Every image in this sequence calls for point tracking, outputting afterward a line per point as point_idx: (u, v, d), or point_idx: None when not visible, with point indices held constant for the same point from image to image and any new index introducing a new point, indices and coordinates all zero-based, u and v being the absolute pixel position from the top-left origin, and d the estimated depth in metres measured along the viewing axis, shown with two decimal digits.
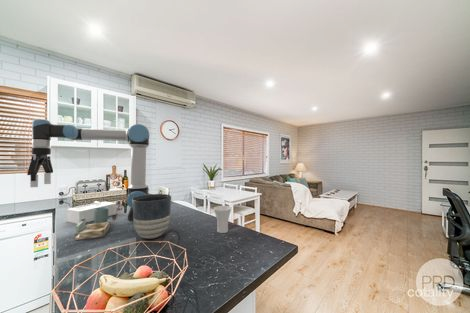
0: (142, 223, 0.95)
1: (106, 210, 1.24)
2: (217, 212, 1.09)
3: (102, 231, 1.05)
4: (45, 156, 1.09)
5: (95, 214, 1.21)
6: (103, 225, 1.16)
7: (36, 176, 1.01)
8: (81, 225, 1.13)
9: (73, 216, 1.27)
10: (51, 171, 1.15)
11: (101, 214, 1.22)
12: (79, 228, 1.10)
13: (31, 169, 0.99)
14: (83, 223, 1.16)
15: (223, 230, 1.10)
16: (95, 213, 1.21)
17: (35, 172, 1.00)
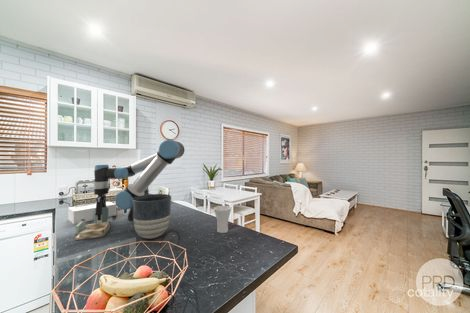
0: (142, 223, 0.95)
1: (106, 210, 1.24)
2: (217, 212, 1.09)
3: (102, 231, 1.05)
4: (104, 194, 1.27)
5: None
6: (103, 225, 1.16)
7: (101, 216, 1.21)
8: (81, 225, 1.13)
9: (71, 215, 1.29)
10: None
11: None
12: (79, 228, 1.10)
13: (98, 211, 1.18)
14: (83, 223, 1.16)
15: (223, 230, 1.10)
16: (95, 213, 1.21)
17: None
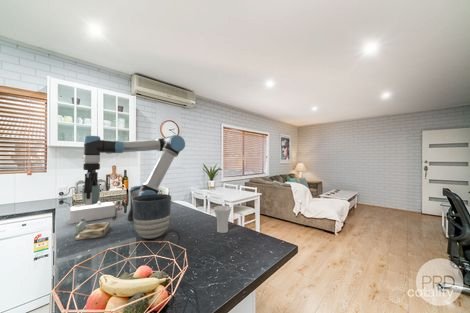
0: (142, 223, 0.95)
1: (97, 188, 1.09)
2: (217, 212, 1.09)
3: (102, 231, 1.05)
4: (95, 170, 1.12)
5: None
6: (103, 225, 1.16)
7: (90, 194, 1.05)
8: (81, 225, 1.13)
9: None
10: None
11: None
12: (79, 228, 1.10)
13: (87, 188, 1.03)
14: (83, 223, 1.16)
15: (223, 230, 1.10)
16: None
17: (90, 190, 1.04)
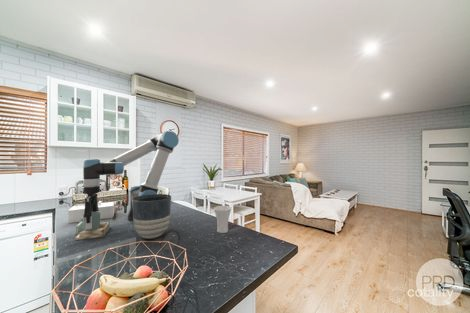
0: (142, 223, 0.95)
1: (97, 215, 1.09)
2: (217, 212, 1.09)
3: (102, 231, 1.05)
4: (94, 193, 1.11)
5: (84, 220, 1.06)
6: (103, 225, 1.16)
7: (90, 218, 1.04)
8: (81, 225, 1.13)
9: None
10: (97, 210, 1.15)
11: None
12: (79, 228, 1.10)
13: (87, 212, 1.02)
14: None
15: (223, 230, 1.10)
16: (84, 218, 1.06)
17: (90, 214, 1.03)
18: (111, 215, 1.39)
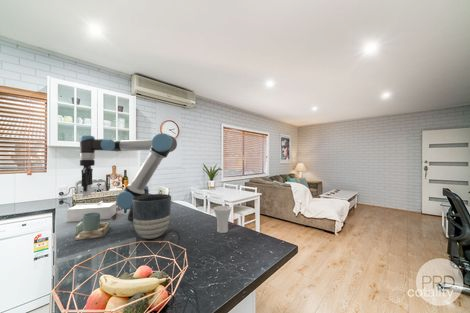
0: (142, 223, 0.95)
1: (97, 216, 1.09)
2: (217, 212, 1.09)
3: (102, 231, 1.05)
4: (90, 166, 1.26)
5: (84, 220, 1.05)
6: (103, 225, 1.16)
7: (87, 187, 1.21)
8: (81, 225, 1.13)
9: None
10: (91, 183, 1.28)
11: (91, 220, 1.06)
12: (79, 228, 1.10)
13: (83, 182, 1.18)
14: None
15: (223, 230, 1.10)
16: (84, 219, 1.05)
17: (86, 184, 1.20)
18: (107, 216, 1.36)
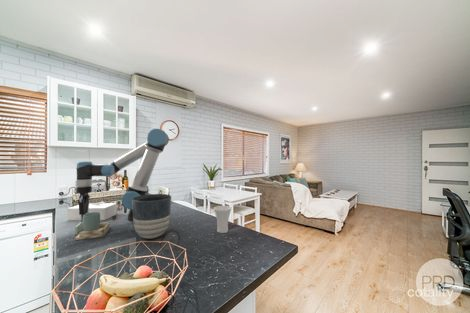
0: (142, 223, 0.95)
1: (97, 216, 1.09)
2: (217, 212, 1.09)
3: (102, 231, 1.05)
4: None
5: (84, 220, 1.05)
6: (103, 225, 1.16)
7: None
8: (80, 226, 1.12)
9: None
10: None
11: (91, 220, 1.06)
12: (78, 229, 1.09)
13: (81, 211, 1.15)
14: (82, 224, 1.15)
15: (223, 230, 1.10)
16: (84, 219, 1.05)
17: (84, 212, 1.17)
18: (103, 218, 1.33)
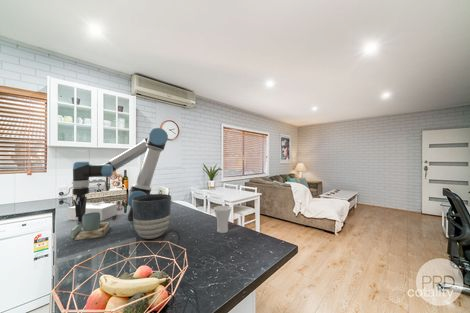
0: (142, 223, 0.95)
1: (97, 216, 1.09)
2: (217, 212, 1.09)
3: (102, 231, 1.05)
4: (84, 193, 1.16)
5: (84, 220, 1.05)
6: (103, 225, 1.16)
7: (82, 218, 1.13)
8: (77, 229, 1.07)
9: None
10: None
11: (91, 220, 1.06)
12: (75, 232, 1.04)
13: (78, 213, 1.10)
14: (79, 227, 1.10)
15: (223, 230, 1.10)
16: (84, 219, 1.05)
17: None
18: (100, 218, 1.32)
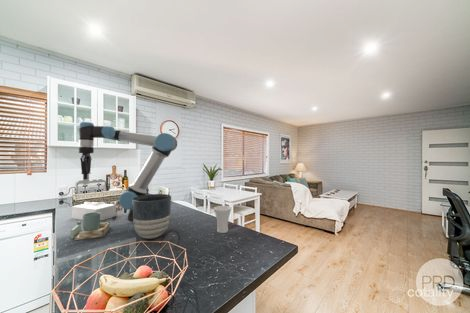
0: (142, 223, 0.95)
1: (97, 216, 1.09)
2: (217, 212, 1.09)
3: (102, 231, 1.05)
4: (89, 153, 1.24)
5: (84, 220, 1.05)
6: (103, 225, 1.16)
7: (87, 175, 1.21)
8: (77, 229, 1.07)
9: None
10: None
11: (91, 220, 1.06)
12: (74, 232, 1.04)
13: (83, 170, 1.18)
14: (79, 227, 1.10)
15: (223, 230, 1.10)
16: (84, 219, 1.05)
17: (87, 172, 1.20)
18: None
